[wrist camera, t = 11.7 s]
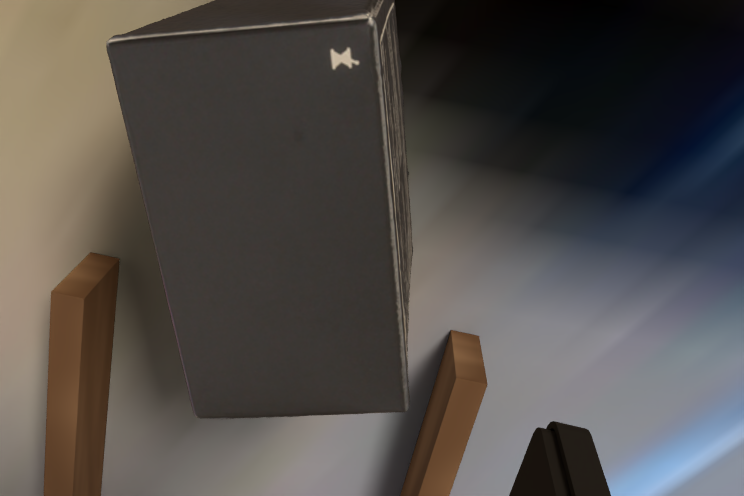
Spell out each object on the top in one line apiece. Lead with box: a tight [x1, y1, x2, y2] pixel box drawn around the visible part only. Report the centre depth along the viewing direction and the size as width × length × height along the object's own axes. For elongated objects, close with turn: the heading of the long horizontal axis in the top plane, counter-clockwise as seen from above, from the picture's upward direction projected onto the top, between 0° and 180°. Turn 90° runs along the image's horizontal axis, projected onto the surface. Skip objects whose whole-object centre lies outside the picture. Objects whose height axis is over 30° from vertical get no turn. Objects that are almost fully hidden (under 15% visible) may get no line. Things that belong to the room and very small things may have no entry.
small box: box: [107, 0, 413, 419], centre depth 22 cm, size 11×6×10 cm, turn 5°
